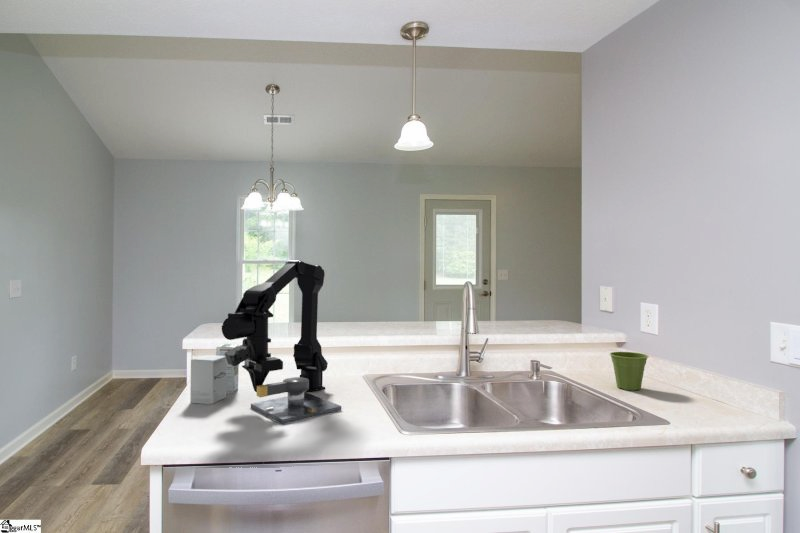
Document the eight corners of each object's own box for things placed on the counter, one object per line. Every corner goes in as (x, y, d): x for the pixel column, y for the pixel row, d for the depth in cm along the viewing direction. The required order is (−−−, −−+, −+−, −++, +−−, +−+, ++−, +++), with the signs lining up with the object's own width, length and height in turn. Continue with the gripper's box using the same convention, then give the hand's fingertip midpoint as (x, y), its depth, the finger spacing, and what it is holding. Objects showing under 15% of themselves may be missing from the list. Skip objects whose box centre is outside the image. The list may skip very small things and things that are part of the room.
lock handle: (300, 385, 141) (300, 376, 141) (313, 389, 136) (313, 380, 136) (252, 393, 131) (252, 384, 131) (264, 399, 126) (264, 389, 126)
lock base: (306, 396, 149) (307, 379, 149) (341, 410, 135) (341, 391, 135) (250, 407, 137) (250, 389, 136) (282, 424, 123) (282, 403, 123)
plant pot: (636, 383, 169) (637, 351, 169) (655, 393, 157) (656, 358, 157) (602, 383, 169) (603, 351, 169) (619, 392, 157) (619, 357, 157)
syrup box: (219, 389, 156) (220, 343, 156) (238, 389, 157) (239, 343, 156) (214, 394, 150) (215, 346, 150) (234, 393, 151) (234, 346, 151)
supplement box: (212, 404, 139) (213, 360, 139) (189, 402, 141) (189, 359, 141) (227, 397, 147) (227, 355, 146) (204, 396, 148) (205, 354, 148)
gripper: (214, 333, 136) (214, 389, 136) (244, 342, 122) (243, 404, 123) (252, 330, 144) (252, 383, 144) (284, 338, 130) (283, 396, 130)
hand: (256, 391), depth 135 cm, fingers closed
